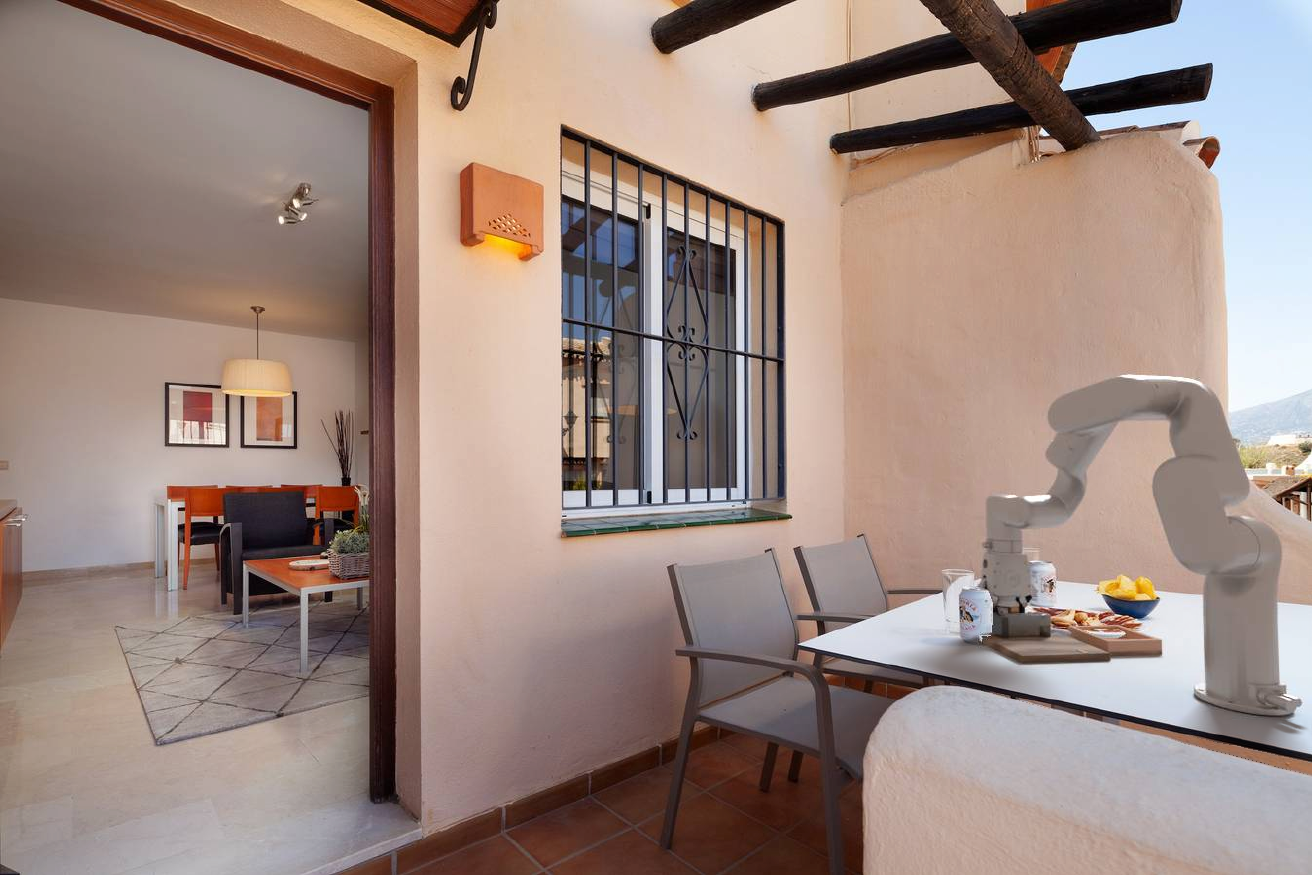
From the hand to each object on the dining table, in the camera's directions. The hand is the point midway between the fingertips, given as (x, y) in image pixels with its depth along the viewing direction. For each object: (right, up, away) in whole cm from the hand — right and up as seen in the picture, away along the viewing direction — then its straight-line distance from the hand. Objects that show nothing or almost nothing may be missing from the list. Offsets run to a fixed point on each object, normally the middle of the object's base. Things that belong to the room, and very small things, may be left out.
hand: (1005, 622), depth 154 cm
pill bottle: (0, -3, 0) cm, 3 cm away
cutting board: (0, -2, -13) cm, 13 cm away
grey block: (0, -1, -7) cm, 7 cm away
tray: (+18, -2, -11) cm, 21 cm away
